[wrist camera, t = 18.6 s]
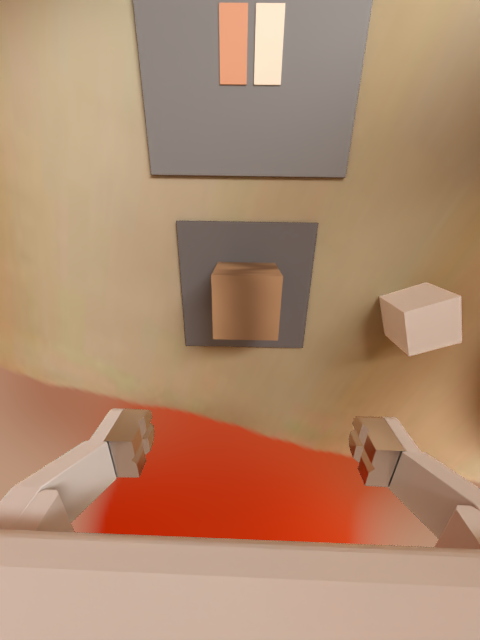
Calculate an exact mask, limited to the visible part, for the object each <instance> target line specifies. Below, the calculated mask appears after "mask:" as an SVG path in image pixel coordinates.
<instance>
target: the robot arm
mask: <svg viewBox="0 0 480 640" xmlns="http://www.w3.org/2000/svg"><path fill="white" fill-rule="evenodd" d="M151 419H152V414H151V411H150V410H141V409H118V408H113V409H111V410H110V411H109V412H108V413H107V415H106V416H105V418H104V419H103V421H102V422H101V424H100V425H99V426H98V428H97V429H96V431H95V432H94V434H93V435H92V437H91V438H90V439H89V441H84V442H82V443H81V444H79V445H77V446H76V447H74V448H73V449H71V450H69V451H68V452H66V453H65V454H63V455H62V456H60V457H58V458H57V459H55V460H54V461H52V462H51V463H49V464H47V465H46V466H44V467H43V468H41V469H40V470H38V471H36V472H35V473H33V474H32V475H30V476H29V477H27V478H25V479H24V480H22V481H21V482H19V483H18V484H16V485H14V486H13V487H12V488H11V489H10V490H9V491H8V493H7V494H6V495H5V496H4V497H3V499H2V500H1V501H0V640H480V488H478V487H477V486H475V485H474V484H472V483H471V482H469V481H468V480H466V479H465V478H463V477H462V476H460V475H459V474H457V473H456V472H454V471H453V470H451V469H450V468H448V467H447V466H445V465H444V464H442V463H441V462H439V461H438V460H436V459H435V458H433V457H432V456H430V455H429V454H427V453H426V452H421V451H420V449H419V448H418V447H417V445H416V444H415V442H414V441H413V440H412V438H411V437H410V435H409V434H408V433H407V431H406V430H405V428H404V427H403V426H402V424H401V423H400V421H399V420H398V419H397V418H395V417H364V416H356V417H355V418H354V419H353V423H352V424H353V426H354V428H355V429H354V430H352V431H351V432H350V436H349V447H350V451H351V454H352V456H353V458H354V459H355V460H356V461H358V462H359V466H358V470H359V473H360V475H361V477H362V480H363V482H364V484H365V486H378V487H389V489H390V490H391V491H392V492H393V493H394V494H395V495H396V496H397V497H398V498H399V499H400V500H401V501H402V502H403V503H404V504H405V505H406V506H407V507H408V508H409V510H410V511H411V512H413V514H414V515H415V516H416V517H417V518H418V519H419V520H420V521H421V522H422V523H423V524H424V525H425V526H426V527H427V528H428V529H429V530H430V531H431V532H432V533H434V535H435V536H436V537H437V538H438V539H439V540H438V542H437V543H436V545H435V547H416V546H392V545H368V544H367V545H366V544H343V543H341V544H340V543H319V542H295V541H270V540H269V541H268V540H245V539H222V538H197V537H173V536H172V537H171V536H149V535H125V534H102V533H78V532H77V533H76V532H74V529H73V527H72V525H71V522H72V521H73V520H74V519H75V518H76V517H77V516H78V515H80V514H81V513H82V512H83V511H84V510H85V509H86V508H87V507H88V506H89V505H90V504H91V503H92V502H93V501H94V500H95V499H96V498H97V497H98V496H99V495H100V494H101V493H102V492H103V491H104V490H105V489H106V488H107V487H108V486H109V485H110V484H112V483H113V482H114V481H115V480H116V477H140V475H141V472H142V470H143V467H144V465H145V462H146V458H145V455H146V454H147V453H148V452H149V451H150V450H151V447H152V445H153V440H154V426H153V425H152V424H151V423H150V421H151Z"/></svg>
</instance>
